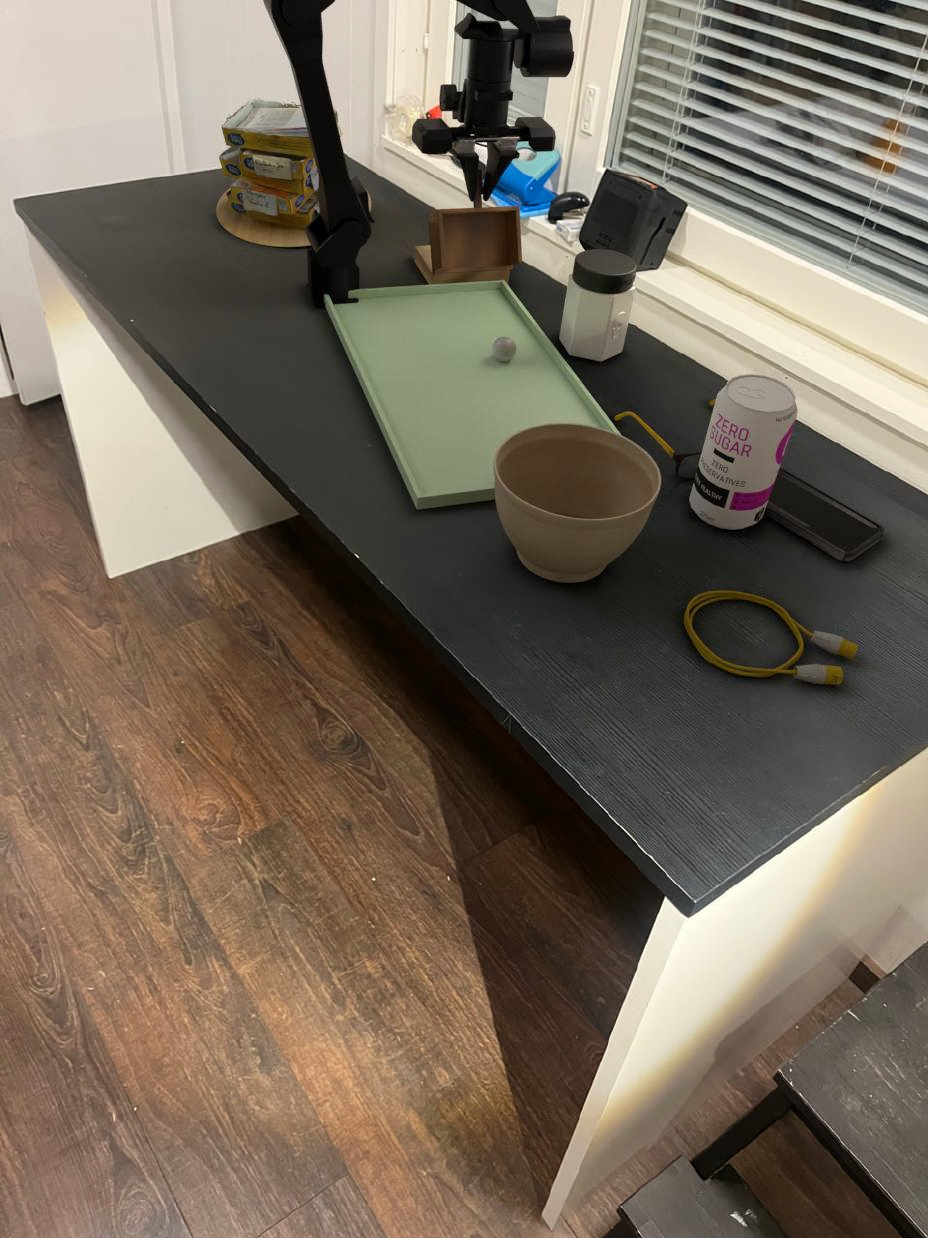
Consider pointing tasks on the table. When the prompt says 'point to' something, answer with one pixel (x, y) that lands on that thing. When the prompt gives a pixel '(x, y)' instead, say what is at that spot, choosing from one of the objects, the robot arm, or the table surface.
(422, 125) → the robot arm
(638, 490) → the planter bowl
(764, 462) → the supplement can
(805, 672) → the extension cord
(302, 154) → the stacked yellow boxes
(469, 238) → the wooden ball box
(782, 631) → the table surface
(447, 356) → the tray
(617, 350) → the jar
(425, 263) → the stand
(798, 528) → the phone
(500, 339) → the ball
